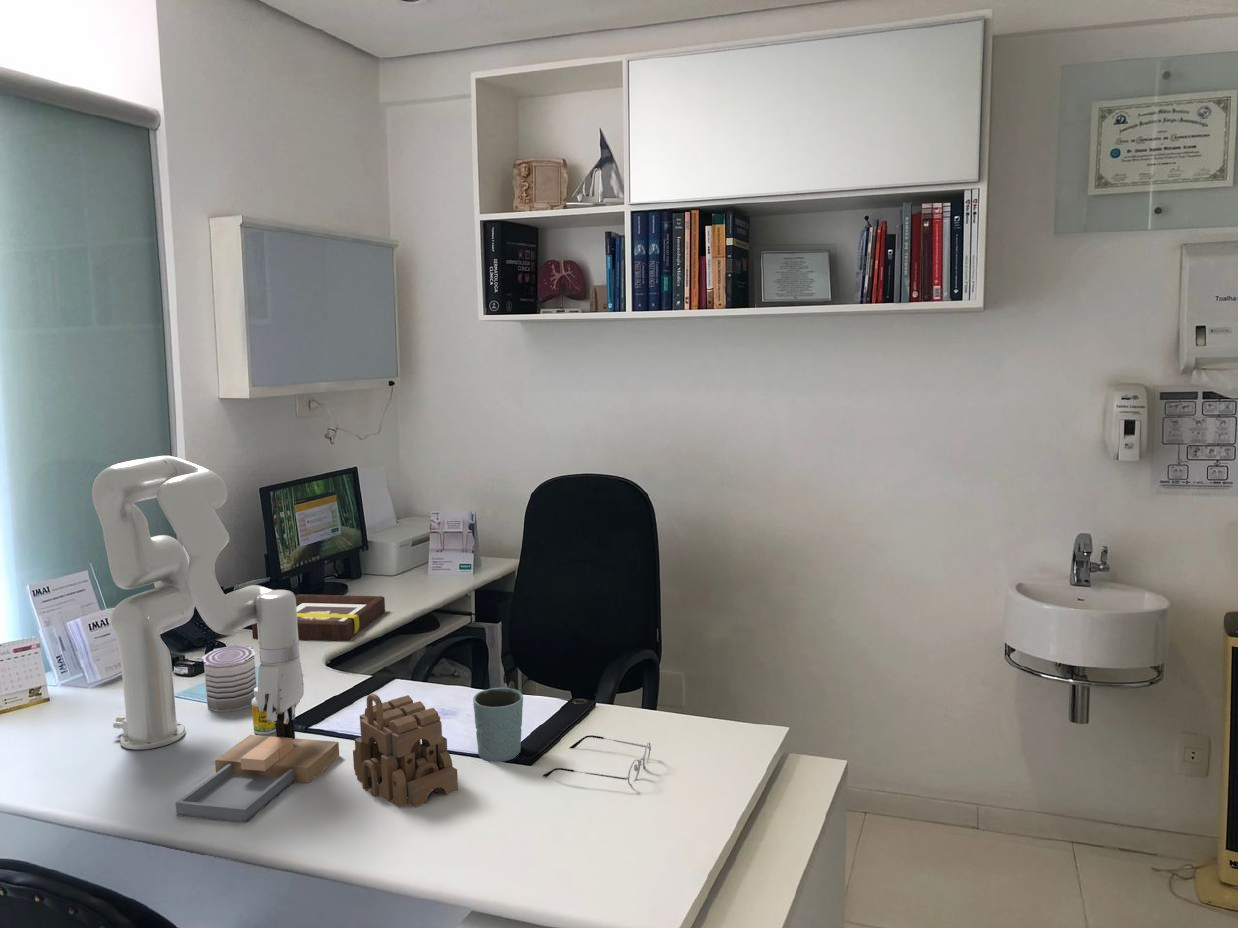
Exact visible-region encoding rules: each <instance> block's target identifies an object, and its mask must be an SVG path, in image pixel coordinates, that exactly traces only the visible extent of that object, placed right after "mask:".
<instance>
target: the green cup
mask: <svg viewBox="0 0 1238 928" xmlns="http://www.w3.org/2000/svg"><path fill="white" fill-rule="evenodd" d="M472 699H473V709H474V710H473V712H474V724H475V729H476V731H475V733H476V741H477V753H478V756H479V758H480V759H481V760H484V761H487V762H491V763H492V762H493V763H496V762H498V763H499V762H507V761H510V760H513V759H515V758H517V757H518V756H519V755H520V754H519V753H521V745H522V743H521V742H522V725H523V706H524V704H523V703H524V696H523V693H522V692H521V691H520V690H518V689H515V688H509V687H493V688H488V689H484V690H482V691H479V692H477V693H476V694H474V696H473V698H472ZM518 754H519V755H518ZM517 755H518V756H517ZM516 756H517V757H516Z"/></svg>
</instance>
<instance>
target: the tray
mask: <svg viewBox="0 0 1238 928" xmlns="http://www.w3.org/2000/svg"><path fill="white" fill-rule="evenodd" d="M294 783H296V782H295V780H294V769H289V770H288V771H287V772H286V773H284V774H283V775H282V776H281V777H280V778H277V777H266V776H255V775H244V774H233V766H232V764H227V765H226V766H225V767H223V768H222V769H221V770H219V771H218V772H216V771H215V773H213V774H212V775H211V776H210V777H208V778H207V779H205V780H204V781H202V783H200V784H199V785H197V786H196V787H195V788H193V789H192V790H190V791H189V792H188V793H186V794H185V795H184V796H182V797H181V798H180V799H178V800H177V801H175V803H174V804H175V815H176V817H185V818H195V819H206V820H214V821H222V822H223V821H226V822H235V823H244V824H246V823H248V822H249V821H251V819H253V818H254V817H255V816H256V815H257V814H259V812H261V811H262V810H264V809H265V808H266V807H267V806H268V805H269V804H270V803H272V802H273V800H275V799H276V798H277V797H278V796H279V795H281V794H282V793H283V792H284V791H286V789H287V788H289V787H290V786H291V785H292V784H294Z"/></svg>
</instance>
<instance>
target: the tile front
mask: <svg viewBox="0 0 1238 928" xmlns="http://www.w3.org/2000/svg"><path fill="white" fill-rule="evenodd" d="M278 760H279V749H273V748H260V747H255V748H253V749H252V750H251V751H249V752H248V753H247V754H245V755H244V756H243V757H241V769H247V770H259V771H266V770H267V769H268V768H269V767H271V766H272V765H273V764H274V763H276V762H277V761H278Z"/></svg>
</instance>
